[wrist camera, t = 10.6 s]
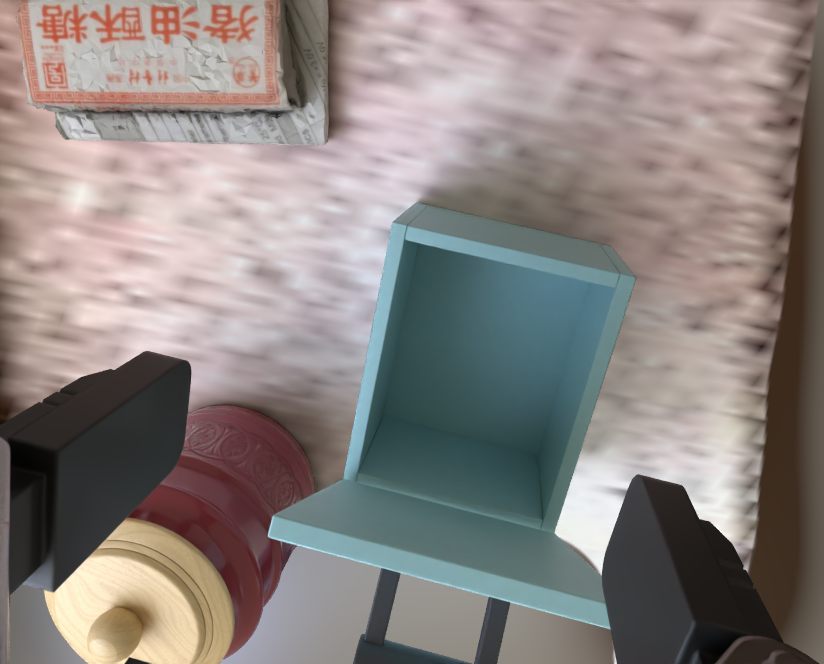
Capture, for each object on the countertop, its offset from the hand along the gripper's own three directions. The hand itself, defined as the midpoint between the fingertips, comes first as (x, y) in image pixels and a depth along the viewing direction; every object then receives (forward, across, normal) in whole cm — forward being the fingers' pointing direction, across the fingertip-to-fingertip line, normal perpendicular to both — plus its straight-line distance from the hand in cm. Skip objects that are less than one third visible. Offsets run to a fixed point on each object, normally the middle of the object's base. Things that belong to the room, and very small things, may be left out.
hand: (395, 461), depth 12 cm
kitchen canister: (+32, +13, +23) cm, 42 cm away
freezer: (+32, -2, +8) cm, 33 cm away
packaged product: (+32, +20, -6) cm, 38 cm away
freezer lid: (+16, -2, +12) cm, 20 cm away
